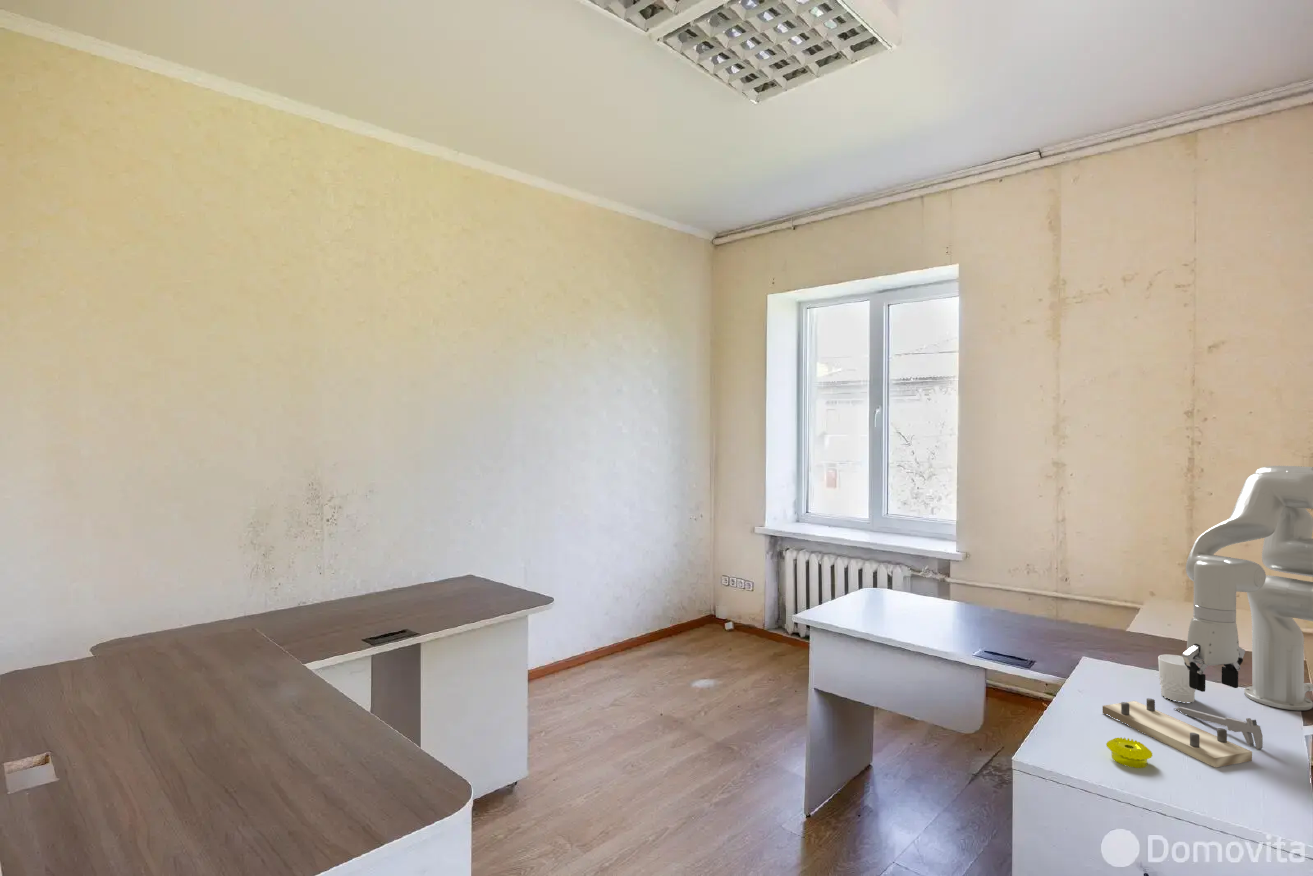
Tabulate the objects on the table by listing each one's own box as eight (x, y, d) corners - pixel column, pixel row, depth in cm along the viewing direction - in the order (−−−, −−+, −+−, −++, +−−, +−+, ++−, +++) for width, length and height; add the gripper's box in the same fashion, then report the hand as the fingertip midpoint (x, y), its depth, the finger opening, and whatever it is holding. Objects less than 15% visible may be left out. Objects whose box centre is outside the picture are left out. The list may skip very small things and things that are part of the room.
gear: (1133, 773, 133) (1162, 767, 135) (1133, 756, 133) (1162, 749, 135) (1097, 755, 140) (1124, 748, 143) (1097, 738, 140) (1124, 732, 143)
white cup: (1191, 694, 169) (1191, 656, 169) (1202, 706, 162) (1201, 667, 162) (1154, 690, 173) (1154, 652, 172) (1163, 701, 165) (1162, 663, 165)
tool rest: (1135, 708, 162) (1135, 691, 162) (1252, 760, 136) (1251, 739, 136) (1102, 713, 159) (1102, 695, 159) (1215, 767, 134) (1215, 746, 134)
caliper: (1263, 751, 141) (1263, 722, 141) (1258, 751, 141) (1258, 722, 141) (1177, 710, 161) (1177, 685, 161) (1173, 710, 161) (1173, 685, 161)
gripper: (1225, 608, 156) (1224, 678, 156) (1168, 612, 152) (1168, 684, 152) (1261, 616, 149) (1260, 690, 149) (1202, 621, 145) (1201, 697, 145)
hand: (1213, 687), depth 150 cm, fingers open, 9 cm apart
